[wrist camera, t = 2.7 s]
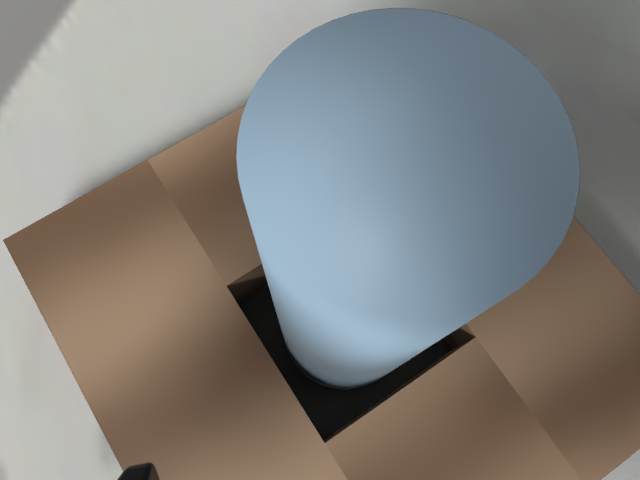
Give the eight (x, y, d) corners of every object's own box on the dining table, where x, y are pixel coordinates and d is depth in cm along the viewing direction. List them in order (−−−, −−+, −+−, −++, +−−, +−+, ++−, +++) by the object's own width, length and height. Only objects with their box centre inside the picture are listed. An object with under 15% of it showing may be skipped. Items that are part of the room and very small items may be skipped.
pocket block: (658, 391, 20) (716, 386, 17) (274, 694, 17) (266, 748, 14) (394, 64, 24) (406, 16, 21) (44, 264, 21) (3, 240, 18)
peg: (429, 344, 20) (652, 196, 7) (327, 414, 20) (365, 394, 6) (359, 246, 22) (441, -41, 8) (260, 309, 21) (173, 104, 7)
